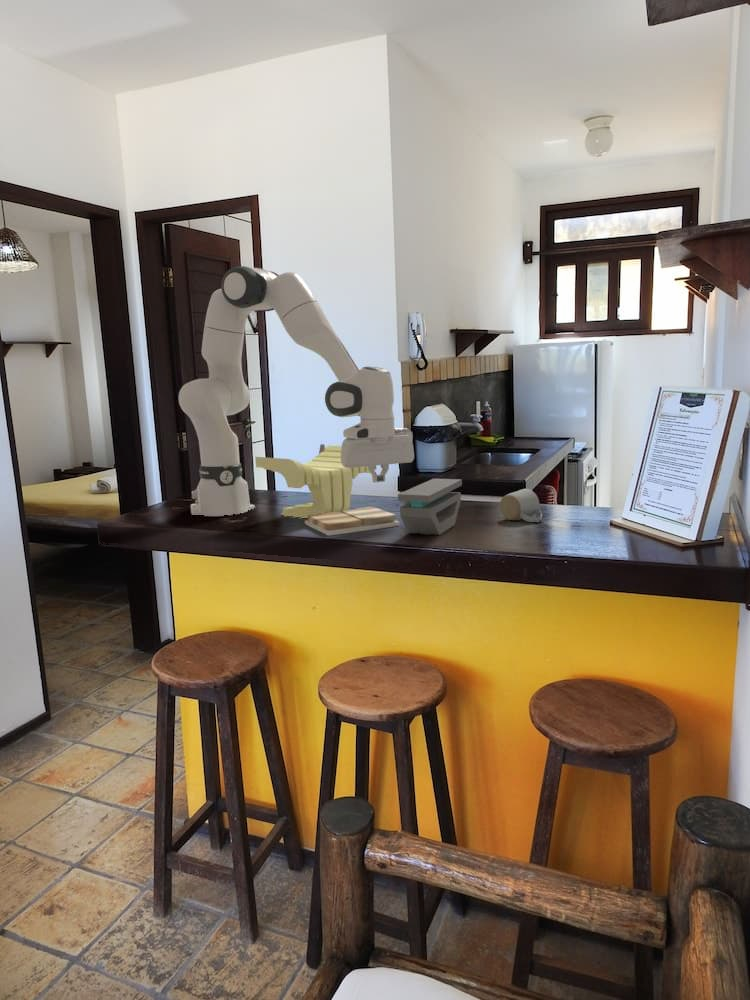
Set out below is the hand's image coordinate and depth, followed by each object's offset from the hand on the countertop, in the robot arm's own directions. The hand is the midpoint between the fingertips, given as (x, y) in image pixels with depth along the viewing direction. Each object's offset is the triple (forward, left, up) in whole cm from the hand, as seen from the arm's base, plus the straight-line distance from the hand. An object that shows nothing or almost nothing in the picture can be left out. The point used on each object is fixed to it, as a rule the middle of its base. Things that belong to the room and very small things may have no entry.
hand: (378, 481), depth 188 cm
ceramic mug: (+20, +32, -11) cm, 39 cm away
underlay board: (0, -8, -11) cm, 14 cm away
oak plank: (0, -13, -11) cm, 17 cm away
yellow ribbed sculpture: (-19, -10, -11) cm, 24 cm away
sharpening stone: (+16, +7, -11) cm, 20 cm away
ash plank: (0, -3, -9) cm, 10 cm away
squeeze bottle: (-35, -1, -11) cm, 37 cm away
